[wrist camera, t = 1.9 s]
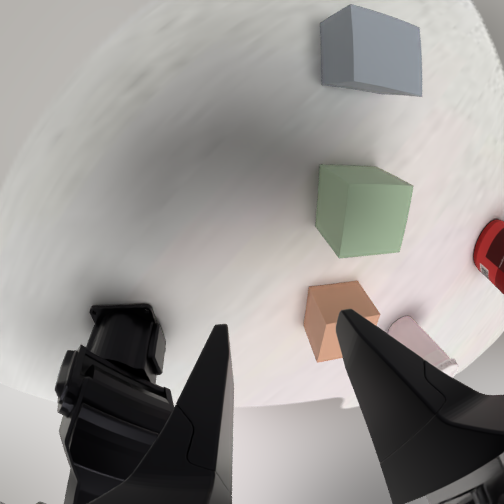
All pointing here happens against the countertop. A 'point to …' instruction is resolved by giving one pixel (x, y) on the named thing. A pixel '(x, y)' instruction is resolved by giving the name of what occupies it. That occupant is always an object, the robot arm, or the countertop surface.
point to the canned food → (491, 253)
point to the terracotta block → (333, 315)
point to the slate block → (371, 52)
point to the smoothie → (422, 344)
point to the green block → (362, 210)
